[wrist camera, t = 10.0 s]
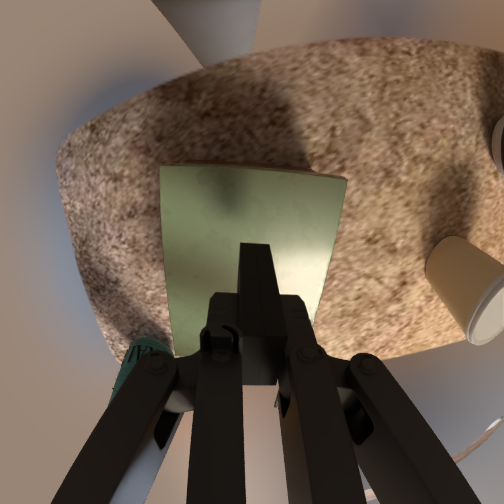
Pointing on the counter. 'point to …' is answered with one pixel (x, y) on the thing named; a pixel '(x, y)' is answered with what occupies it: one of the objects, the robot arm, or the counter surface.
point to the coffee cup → (468, 287)
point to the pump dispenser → (498, 145)
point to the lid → (242, 234)
